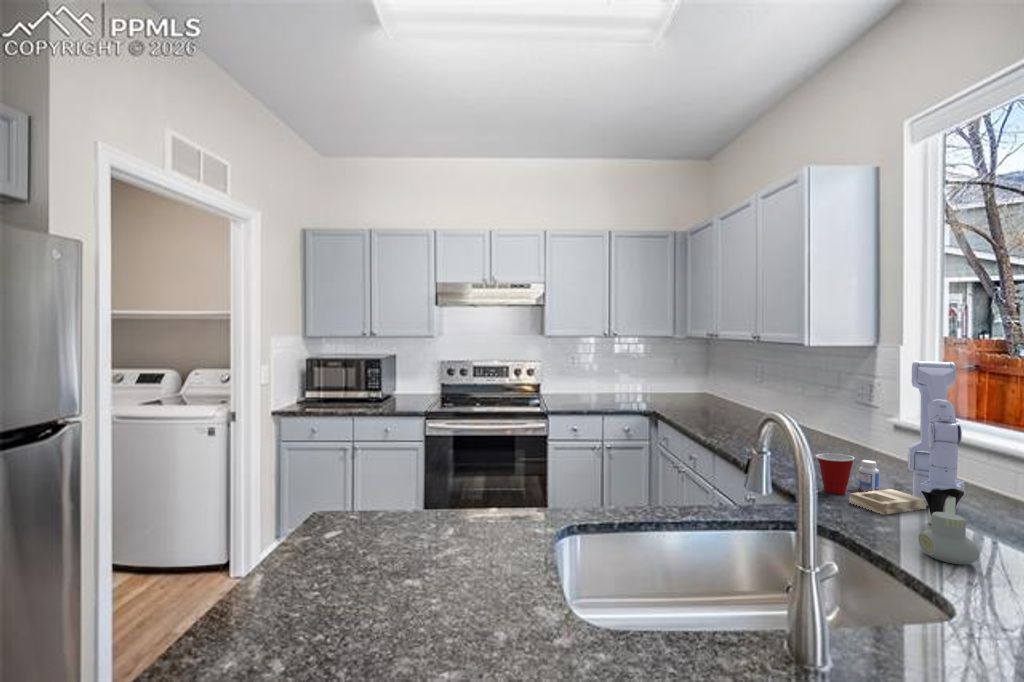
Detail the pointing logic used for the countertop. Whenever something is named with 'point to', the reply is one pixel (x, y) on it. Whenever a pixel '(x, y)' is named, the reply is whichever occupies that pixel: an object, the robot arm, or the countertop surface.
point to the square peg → (946, 507)
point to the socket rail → (887, 501)
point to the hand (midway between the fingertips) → (941, 516)
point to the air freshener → (948, 540)
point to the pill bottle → (868, 476)
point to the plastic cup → (835, 471)
